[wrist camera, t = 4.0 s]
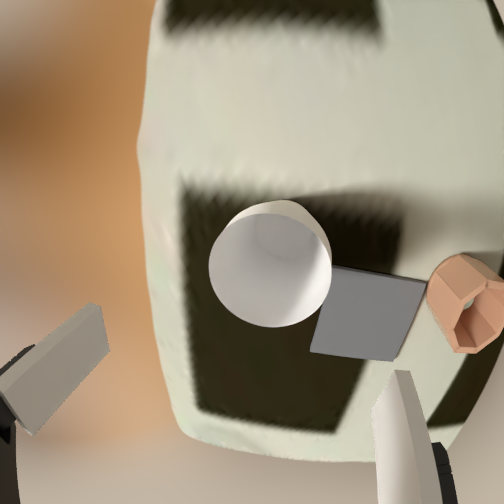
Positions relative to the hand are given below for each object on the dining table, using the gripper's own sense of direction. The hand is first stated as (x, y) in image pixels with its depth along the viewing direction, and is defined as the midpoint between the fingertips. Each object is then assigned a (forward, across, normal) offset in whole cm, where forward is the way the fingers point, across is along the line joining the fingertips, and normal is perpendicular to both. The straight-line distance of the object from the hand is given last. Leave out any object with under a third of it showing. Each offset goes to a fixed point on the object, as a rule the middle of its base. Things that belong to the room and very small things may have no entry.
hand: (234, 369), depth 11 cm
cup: (+22, 0, 0) cm, 22 cm away
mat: (+21, +12, -9) cm, 26 cm away
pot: (+21, +23, -3) cm, 31 cm away
